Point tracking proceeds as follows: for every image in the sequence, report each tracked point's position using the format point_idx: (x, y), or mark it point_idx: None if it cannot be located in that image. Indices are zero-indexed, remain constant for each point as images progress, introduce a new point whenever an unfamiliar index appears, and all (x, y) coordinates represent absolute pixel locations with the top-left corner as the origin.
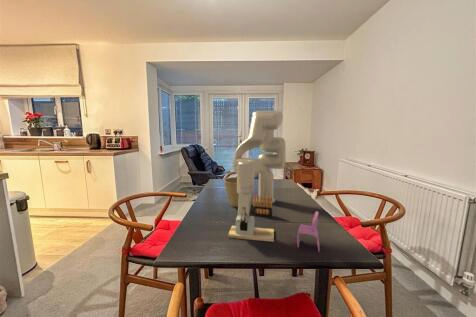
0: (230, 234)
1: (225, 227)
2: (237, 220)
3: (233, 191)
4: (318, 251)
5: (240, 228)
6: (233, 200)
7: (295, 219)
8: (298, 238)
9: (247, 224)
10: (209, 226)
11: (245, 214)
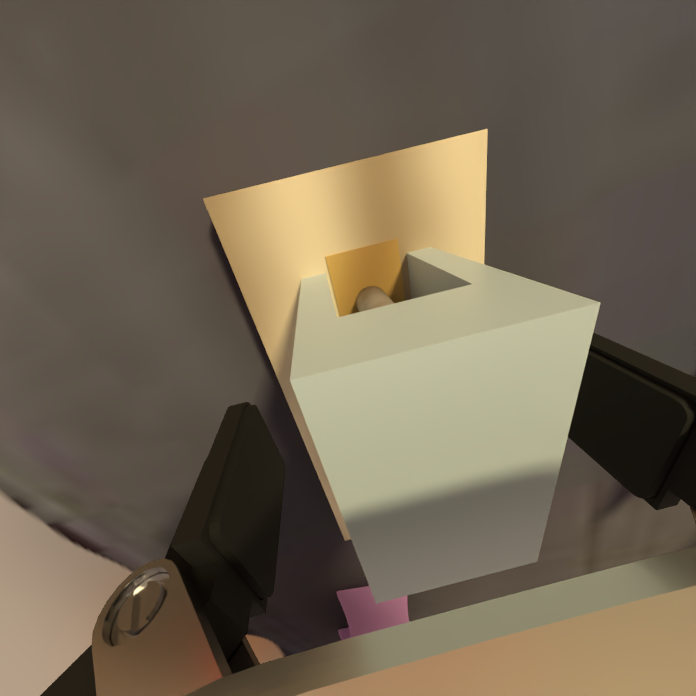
0: (236, 227)
1: (467, 7)
2: (304, 405)
3: None
4: (338, 631)
5: (225, 428)
6: None
7: (629, 525)
8: (382, 616)
9: (269, 554)
10: None
11: (637, 425)
